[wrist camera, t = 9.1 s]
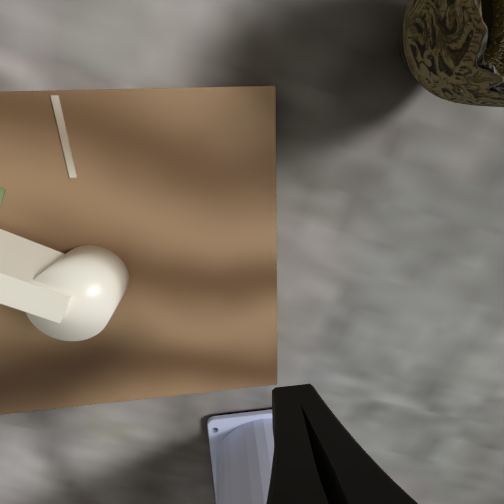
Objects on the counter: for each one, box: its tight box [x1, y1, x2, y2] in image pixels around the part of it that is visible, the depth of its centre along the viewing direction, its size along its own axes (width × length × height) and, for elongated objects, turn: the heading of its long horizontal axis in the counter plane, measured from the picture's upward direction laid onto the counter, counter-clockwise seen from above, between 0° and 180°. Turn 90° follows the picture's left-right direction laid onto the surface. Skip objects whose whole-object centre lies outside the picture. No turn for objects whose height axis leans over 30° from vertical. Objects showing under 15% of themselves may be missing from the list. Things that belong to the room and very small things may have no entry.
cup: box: [400, 0, 504, 107], centre depth 12 cm, size 8×7×8 cm
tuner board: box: [0, 86, 277, 414], centre depth 18 cm, size 18×20×1 cm
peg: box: [0, 229, 129, 341], centre depth 14 cm, size 10×4×4 cm, turn 62°
